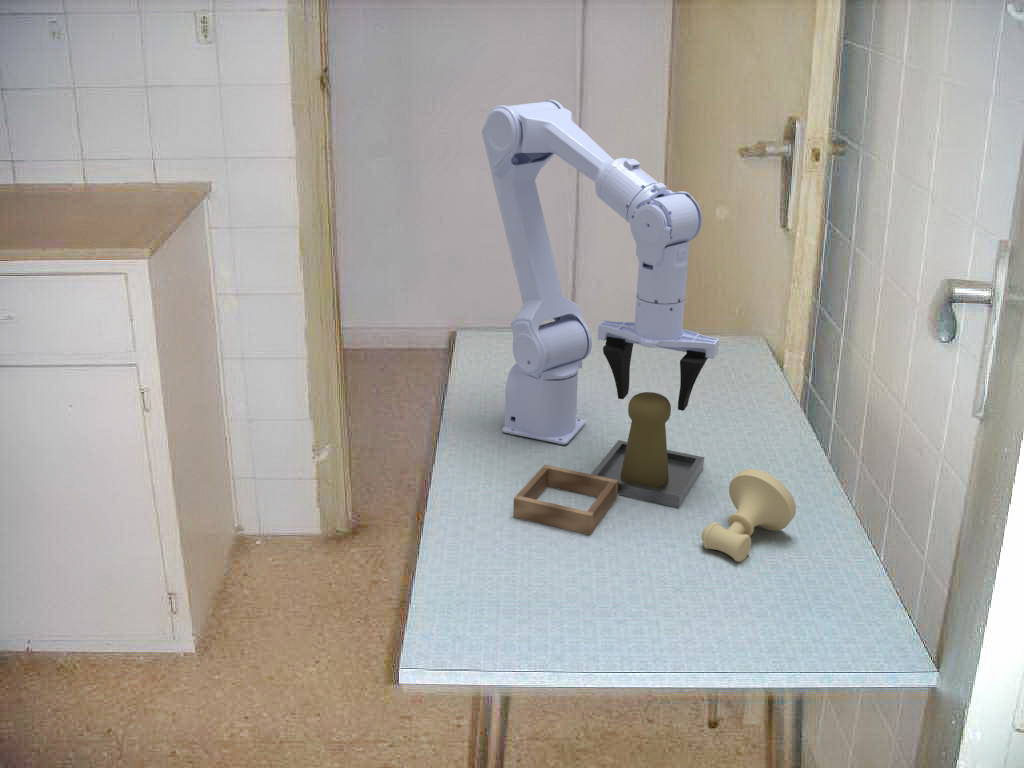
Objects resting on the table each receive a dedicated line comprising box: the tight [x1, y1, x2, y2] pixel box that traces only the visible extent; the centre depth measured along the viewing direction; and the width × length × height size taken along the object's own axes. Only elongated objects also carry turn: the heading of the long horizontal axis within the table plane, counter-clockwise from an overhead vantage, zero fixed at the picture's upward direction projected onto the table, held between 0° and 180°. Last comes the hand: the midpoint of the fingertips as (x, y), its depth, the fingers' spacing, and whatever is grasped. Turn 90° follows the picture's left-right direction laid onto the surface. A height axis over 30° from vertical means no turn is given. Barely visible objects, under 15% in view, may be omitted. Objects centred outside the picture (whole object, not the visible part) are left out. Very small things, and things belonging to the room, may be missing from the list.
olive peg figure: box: [621, 391, 672, 488], centre depth 134 cm, size 6×6×11 cm
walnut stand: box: [512, 464, 618, 536], centre depth 129 cm, size 10×10×2 cm
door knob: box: [701, 468, 797, 563], centre depth 122 cm, size 10×8×8 cm
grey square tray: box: [590, 439, 705, 509], centre depth 137 cm, size 12×12×2 cm
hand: (652, 401), depth 134 cm, fingers open, 7 cm apart
